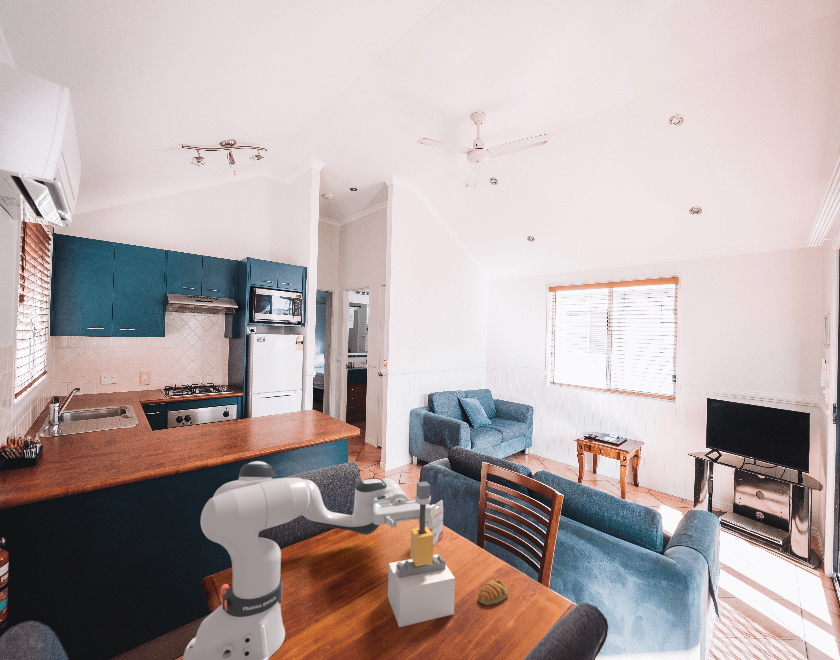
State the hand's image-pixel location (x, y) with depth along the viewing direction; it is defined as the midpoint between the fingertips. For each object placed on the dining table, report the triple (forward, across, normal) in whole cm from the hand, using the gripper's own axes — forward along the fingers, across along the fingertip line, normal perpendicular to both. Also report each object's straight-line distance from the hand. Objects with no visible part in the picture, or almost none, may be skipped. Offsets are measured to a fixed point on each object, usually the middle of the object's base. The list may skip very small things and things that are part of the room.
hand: (408, 523), depth 120 cm
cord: (+12, 0, -8) cm, 15 cm away
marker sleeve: (+13, 0, -5) cm, 13 cm away
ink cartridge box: (-19, -16, -18) cm, 30 cm away
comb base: (+12, 0, -18) cm, 22 cm away
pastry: (+15, -22, -18) cm, 33 cm away
